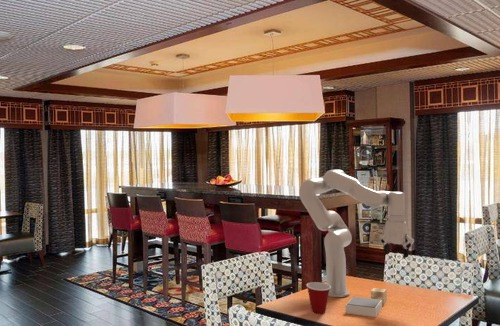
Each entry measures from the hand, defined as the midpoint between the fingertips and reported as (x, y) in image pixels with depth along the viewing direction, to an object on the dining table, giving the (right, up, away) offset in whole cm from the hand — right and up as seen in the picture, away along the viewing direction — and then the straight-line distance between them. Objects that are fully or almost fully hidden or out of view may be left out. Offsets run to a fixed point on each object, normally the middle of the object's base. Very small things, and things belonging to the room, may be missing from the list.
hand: (396, 255), depth 222 cm
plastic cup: (-37, -23, -10) cm, 45 cm away
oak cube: (-8, -22, +2) cm, 24 cm away
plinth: (-17, -23, -10) cm, 30 cm away
